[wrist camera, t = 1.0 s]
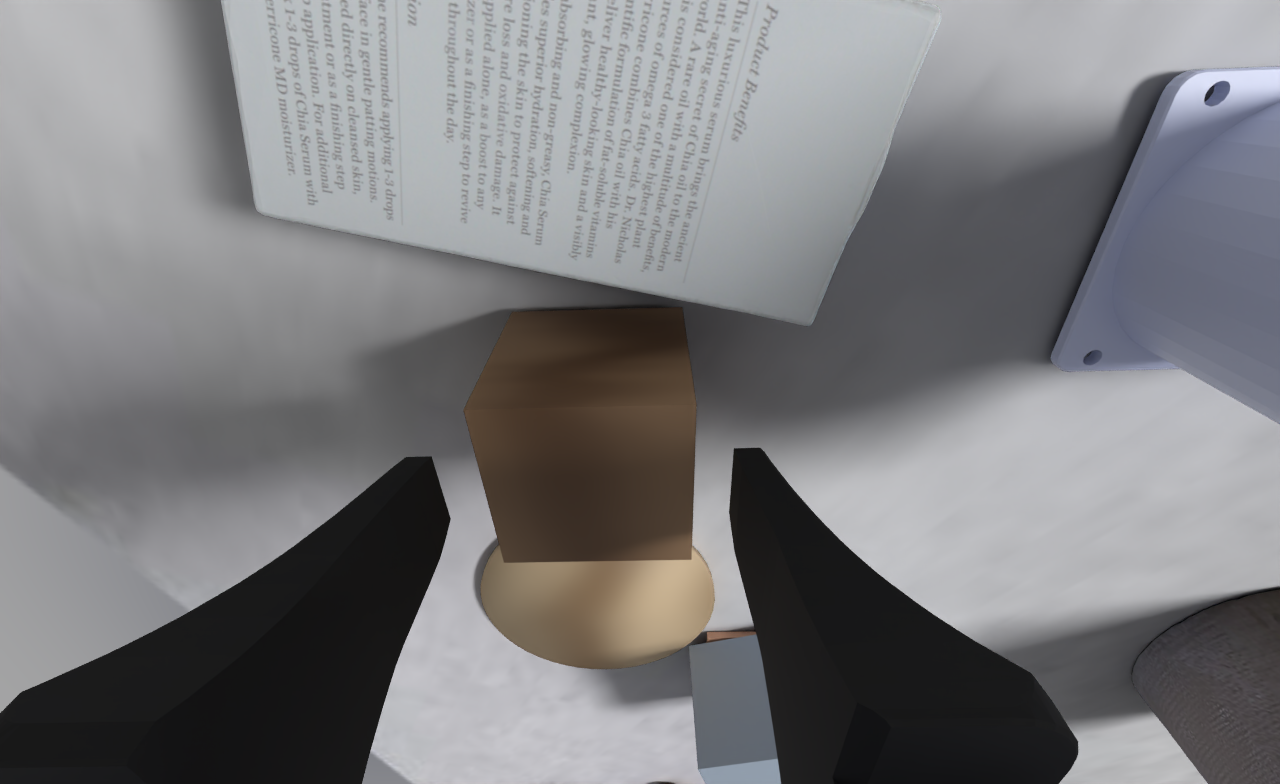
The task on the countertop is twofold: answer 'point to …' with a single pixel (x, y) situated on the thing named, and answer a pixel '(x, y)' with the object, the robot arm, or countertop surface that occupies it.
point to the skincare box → (585, 132)
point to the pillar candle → (1220, 688)
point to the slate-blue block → (732, 713)
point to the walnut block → (588, 436)
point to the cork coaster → (599, 608)
